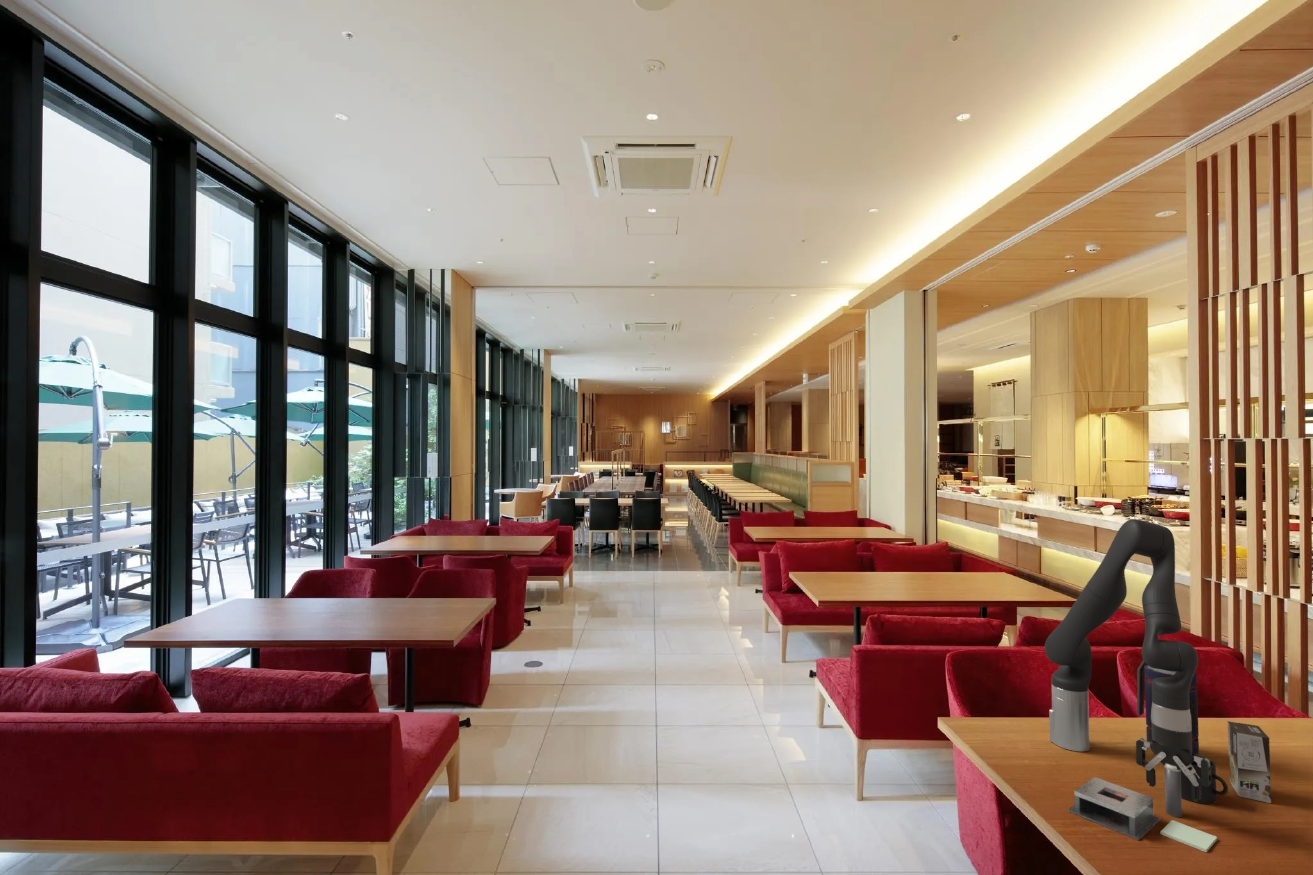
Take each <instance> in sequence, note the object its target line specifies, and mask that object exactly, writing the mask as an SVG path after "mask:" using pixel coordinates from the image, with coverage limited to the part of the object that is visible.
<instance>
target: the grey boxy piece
mask: <svg viewBox="0 0 1313 875" xmlns="http://www.w3.org/2000/svg"><path fill="white" fill-rule="evenodd" d="M1112 798H1113V799H1112ZM1114 799H1117V800H1119V801H1117V800H1114ZM1120 801H1121V802H1120ZM1068 813H1071V814H1073V815H1076V816H1079V817H1081V818H1083V819H1086V820H1089V821H1090V822H1093V823H1095V824H1098V825H1101V826H1102V827H1105V828H1107V829H1110V830H1112V831H1115V832H1117V833H1120V834H1121V835H1124V836H1127V837H1130V838H1132V839H1135V840H1137V841H1140V840H1141V839H1142V838H1143V837H1144V836H1145V835H1146V834H1147V833H1148V832H1149V831H1150V830H1151V829H1152V828H1154V827H1155V826H1156V825H1157V824H1158V823H1159V822H1160V821H1161V817H1159V816H1156V815H1154V798H1153V797H1151V796H1149V795H1146V794H1143V793H1140V792H1138V791H1134V790H1133V789H1130V788H1126V787H1123V786H1121V785H1119V784H1115V783H1112V782H1109V781H1107V780H1104V779H1102V778H1099V777H1096V776H1094V777H1092V778H1091V779H1090V780H1088V781H1087V782H1085V783H1083V785H1081V786H1079V787H1078V788H1077V789H1075V790H1074V805H1072V806H1071V807H1070V808H1069V809H1068Z"/></svg>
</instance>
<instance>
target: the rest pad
mask: <svg viewBox="0 0 1313 875" xmlns="http://www.w3.org/2000/svg"><path fill="white" fill-rule="evenodd" d="M1160 835H1161V836H1164V837H1166V838H1169V839H1171V840H1174V841H1176V842H1179V843H1181V844H1185V845H1186V846H1188V847H1192V848H1195V849H1197V850H1199V851H1202V852H1204V853H1207V852H1208V851H1209V850H1210V849H1211V847H1213V845H1215V843H1216V842H1217V841H1218V837H1217V836H1216V835H1213V834H1210V833H1207V832H1206V831H1205V832H1204V831H1202V830H1200V829H1196V828H1194V827H1191V826H1189V825H1186V824H1184V823H1181V822H1178V821H1176V820H1170V822H1169V823H1168V824H1166V825H1165V826H1164V828H1162V830H1160Z"/></svg>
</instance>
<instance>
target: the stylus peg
mask: <svg viewBox="0 0 1313 875" xmlns="http://www.w3.org/2000/svg"><path fill="white" fill-rule="evenodd" d="M1163 766H1164V793H1165V794H1164V795H1165V797H1164V798H1165V802H1164V803H1165V813H1166V814H1167V815H1168V816H1170V817H1173V818H1182V817H1183V807H1182V805H1183V803H1182V800H1183V798H1181V770H1177V767H1176V766H1174V765H1171V764H1168V763H1165V765H1163Z"/></svg>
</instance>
